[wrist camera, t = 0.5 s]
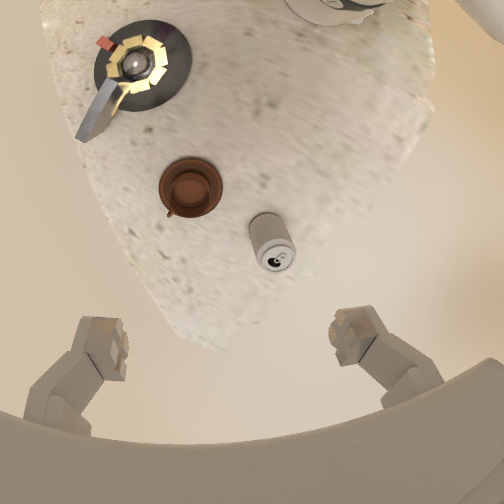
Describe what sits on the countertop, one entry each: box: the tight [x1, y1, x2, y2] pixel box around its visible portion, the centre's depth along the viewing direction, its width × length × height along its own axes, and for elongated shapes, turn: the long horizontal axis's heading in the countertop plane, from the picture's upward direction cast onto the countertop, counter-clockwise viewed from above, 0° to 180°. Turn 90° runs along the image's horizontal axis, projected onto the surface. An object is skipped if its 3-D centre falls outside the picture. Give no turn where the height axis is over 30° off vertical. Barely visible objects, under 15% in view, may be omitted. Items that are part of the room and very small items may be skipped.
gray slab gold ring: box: [75, 35, 170, 143], centre depth 31 cm, size 18×10×9 cm, turn 141°
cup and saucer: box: [159, 159, 223, 218], centre depth 48 cm, size 12×12×6 cm
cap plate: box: [94, 20, 192, 112], centre depth 33 cm, size 17×17×6 cm
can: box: [249, 213, 296, 274], centre depth 54 cm, size 8×8×12 cm
